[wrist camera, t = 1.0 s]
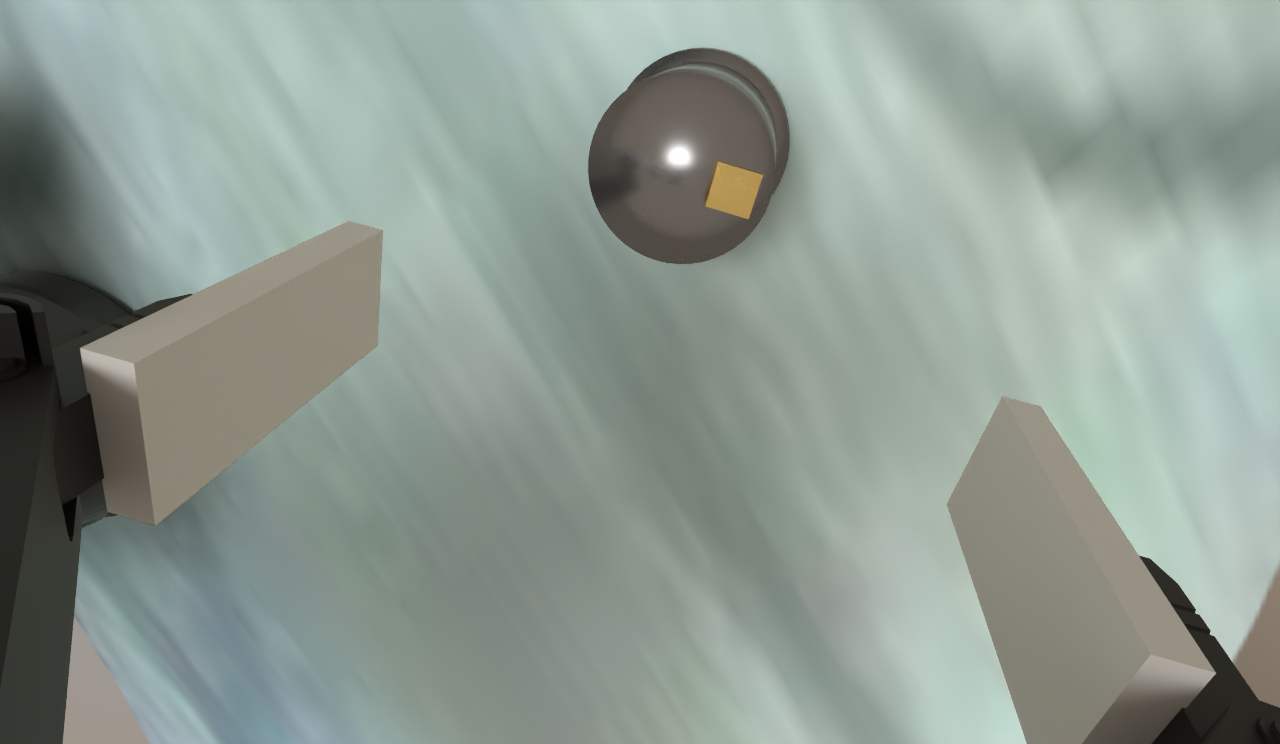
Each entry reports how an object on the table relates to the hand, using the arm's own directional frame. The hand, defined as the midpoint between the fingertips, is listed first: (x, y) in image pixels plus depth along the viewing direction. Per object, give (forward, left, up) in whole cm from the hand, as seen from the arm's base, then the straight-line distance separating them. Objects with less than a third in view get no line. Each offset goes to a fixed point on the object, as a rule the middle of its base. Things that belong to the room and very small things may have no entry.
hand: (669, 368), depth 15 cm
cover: (-2, +1, -19) cm, 19 cm away
